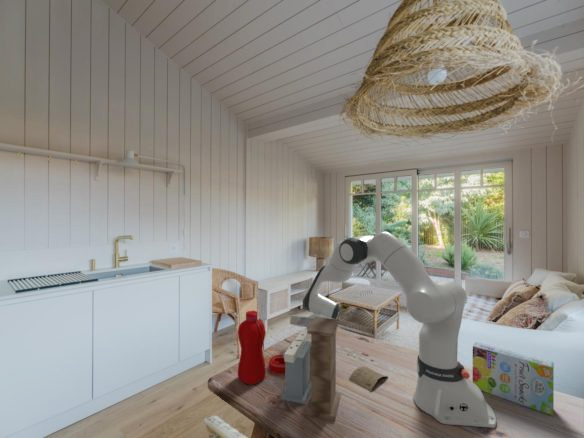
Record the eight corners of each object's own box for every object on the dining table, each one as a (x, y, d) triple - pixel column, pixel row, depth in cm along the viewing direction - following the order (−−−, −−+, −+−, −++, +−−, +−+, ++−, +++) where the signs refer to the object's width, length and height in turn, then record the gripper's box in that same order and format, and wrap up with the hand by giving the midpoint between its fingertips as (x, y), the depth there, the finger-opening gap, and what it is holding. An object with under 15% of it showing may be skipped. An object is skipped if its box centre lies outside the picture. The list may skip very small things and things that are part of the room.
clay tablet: (370, 394, 97) (370, 386, 97) (345, 382, 104) (345, 374, 104) (390, 377, 107) (390, 370, 107) (366, 367, 114) (366, 361, 114)
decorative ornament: (296, 364, 116) (296, 357, 116) (286, 376, 107) (286, 368, 107) (276, 359, 120) (276, 352, 120) (264, 370, 111) (264, 362, 111)
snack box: (553, 408, 89) (553, 360, 89) (553, 417, 85) (553, 367, 85) (475, 381, 104) (475, 340, 104) (471, 388, 100) (471, 345, 100)
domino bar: (310, 335, 108) (310, 329, 108) (293, 362, 88) (293, 354, 88) (302, 334, 109) (302, 328, 109) (284, 361, 89) (284, 353, 89)
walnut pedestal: (340, 396, 95) (340, 319, 95) (335, 421, 83) (335, 333, 83) (314, 391, 98) (314, 316, 97) (305, 414, 86) (305, 330, 86)
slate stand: (313, 383, 102) (313, 342, 102) (304, 404, 91) (304, 358, 91) (292, 379, 105) (292, 339, 105) (281, 399, 93) (281, 354, 93)
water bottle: (254, 390, 98) (253, 319, 98) (234, 379, 105) (234, 312, 105) (272, 379, 105) (272, 312, 105) (252, 368, 112) (252, 306, 112)
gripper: (294, 314, 130) (287, 309, 118) (339, 319, 124) (336, 315, 112) (293, 329, 127) (284, 325, 115) (338, 335, 121) (334, 331, 109)
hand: (310, 320), depth 113 cm, fingers open, 8 cm apart
